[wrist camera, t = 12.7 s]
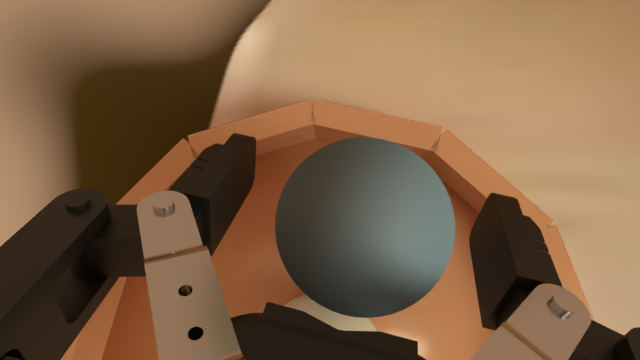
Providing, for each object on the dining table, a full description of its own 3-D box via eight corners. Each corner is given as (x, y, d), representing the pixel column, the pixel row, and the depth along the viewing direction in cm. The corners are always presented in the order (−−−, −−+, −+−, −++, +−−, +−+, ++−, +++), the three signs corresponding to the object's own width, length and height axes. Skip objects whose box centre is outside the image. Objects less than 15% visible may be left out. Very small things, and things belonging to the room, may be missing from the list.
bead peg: (405, 198, 20) (470, 158, 10) (386, 286, 19) (435, 339, 9) (319, 178, 20) (299, 120, 10) (298, 264, 19) (254, 291, 10)
